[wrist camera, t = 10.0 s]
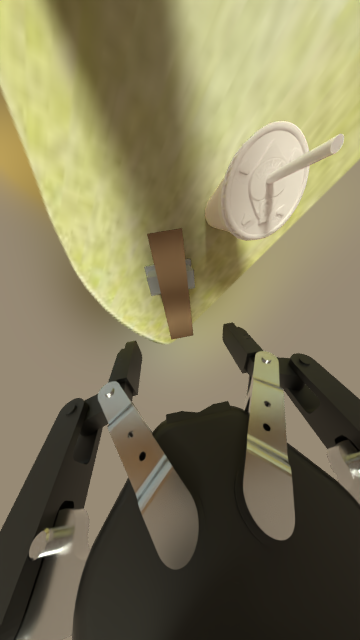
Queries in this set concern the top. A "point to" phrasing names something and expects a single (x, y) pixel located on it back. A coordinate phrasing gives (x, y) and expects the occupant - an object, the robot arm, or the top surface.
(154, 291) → the block
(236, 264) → the top surface
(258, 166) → the smoothie
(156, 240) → the walnut bar
